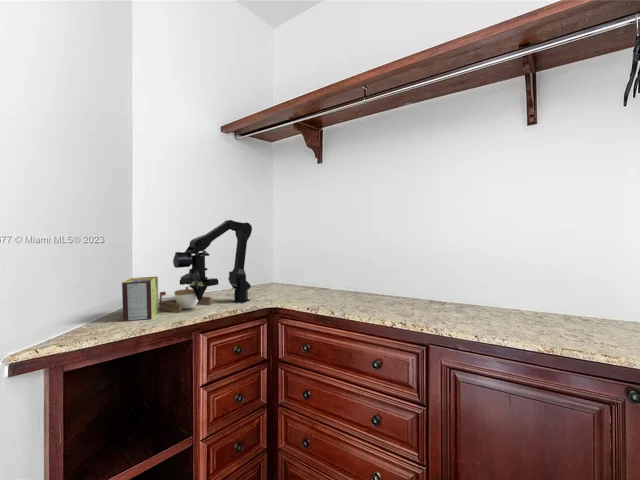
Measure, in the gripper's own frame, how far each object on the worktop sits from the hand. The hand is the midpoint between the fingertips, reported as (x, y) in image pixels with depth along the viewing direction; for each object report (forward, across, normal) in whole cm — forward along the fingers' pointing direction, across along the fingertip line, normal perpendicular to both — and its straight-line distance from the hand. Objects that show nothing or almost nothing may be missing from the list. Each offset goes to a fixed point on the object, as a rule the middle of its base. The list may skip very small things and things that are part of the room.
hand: (199, 300), depth 148 cm
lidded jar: (+4, -8, 0) cm, 9 cm away
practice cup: (+4, -8, 0) cm, 9 cm away
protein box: (+4, -12, -20) cm, 23 cm away
